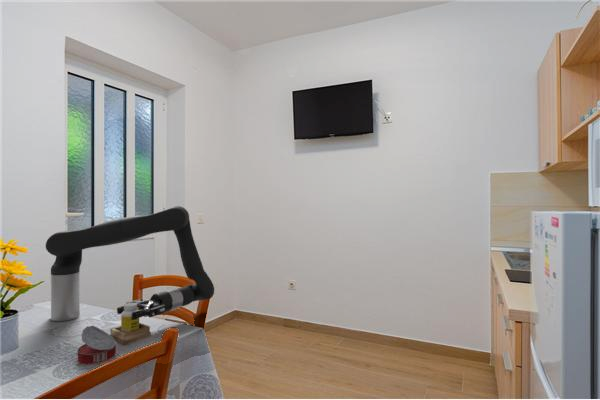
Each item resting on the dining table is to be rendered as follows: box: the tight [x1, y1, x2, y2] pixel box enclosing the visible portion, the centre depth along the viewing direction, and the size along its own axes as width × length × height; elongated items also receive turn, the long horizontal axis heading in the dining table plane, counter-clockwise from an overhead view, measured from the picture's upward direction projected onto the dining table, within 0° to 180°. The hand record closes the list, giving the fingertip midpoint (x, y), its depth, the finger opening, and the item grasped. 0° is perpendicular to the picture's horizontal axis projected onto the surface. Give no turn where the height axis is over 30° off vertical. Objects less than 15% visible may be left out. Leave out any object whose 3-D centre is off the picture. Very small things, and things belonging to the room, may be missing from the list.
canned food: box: [77, 325, 117, 365], centre depth 105 cm, size 11×10×10 cm
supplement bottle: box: [120, 303, 140, 333], centre depth 118 cm, size 5×5×10 cm
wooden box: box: [109, 322, 152, 346], centre depth 118 cm, size 9×9×3 cm
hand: (124, 313), depth 117 cm, fingers open, 8 cm apart
